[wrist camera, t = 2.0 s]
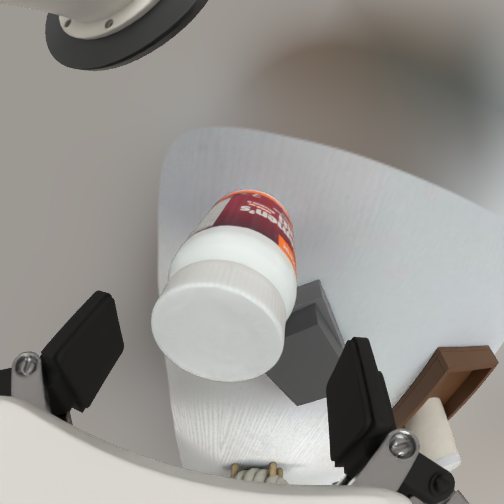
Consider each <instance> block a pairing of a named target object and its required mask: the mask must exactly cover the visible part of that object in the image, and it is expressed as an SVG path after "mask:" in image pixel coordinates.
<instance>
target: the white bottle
mask: <svg viewBox="0 0 504 504" xmlns="http://www.w3.org/2000/svg"><path fill="white" fill-rule="evenodd" d="M404 426H405V429H407V430H409V431H411V432H412V433H414V434H415V435H416V437H417V438H418V440H419V443H420V450H419V452H420V453H421V454H423V455H424V456H426V457H427V458H429V459H430V460H432V461H434V462H435V463H437V464H438V465H440V466H441V467H443V468H444V469H446V470H448V471H449V472H450V471H451V470H453V469H454V468H456V467H457V466H459V465H460V464H461V460H460V456H459V453H458V452H457V448H456V445H455V442H454V439H453V435H452V432H451V429H450V426H449V423H448V420H447V417H446V414H445V411H444V408H443V405H442V403H441V400H440V399H439V398H437V397H433V398H429V399H428V400H427V401H426V402H425V403H424V405H423V406H422V407H421V408H420V409H419V410H418V411H417V412H416V413H415V414H414V415H413V416H412V418H411V419H410V420H409V421H408V422H407V423H406V424H405V425H404Z"/></svg>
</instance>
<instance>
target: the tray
mask: <svg viewBox="0 0 504 504" xmlns="http://www.w3.org/2000/svg"><path fill="white" fill-rule="evenodd" d="M497 364H498V361H497V359H496V357H495V355H494V354H493V352H492V350H491V349H490V347H489V346H472V347H438V349H437V350H436V352H435V353H434V355H433V356H432V358H431V359H430V361H429V362H428V364H427V365H426V366H425V368H424V369H423V371H422V372H421V373H420V375H419V376H418V378H417V379H416V380H415V382H414V383H413V384H412V386H411V387H410V388H409V389H408V391H407V392H406V393H405V394H404V396H403V397H402V398H401V399H400V401H399V402H398V403H397V404H396V405H395V407H394V408H393V409H392V411H393V415H394V420H395V424H396V428H397V429H401V428H402V427H403V426H404V425H405V424H406V423H407V422H408V421H409V420H410V419H411V418H412V416H413V415H414V414H415V413H416V412H417V411H418V410H419V409H420V408H421V407H422V406H423V405H424V403H425V402H426V401H427V400H428V399H429V398H433V397H437V398H439V399H440V400H441V403H442V405H443V408H444V411H445V414H446V417H447V420H449V419H450V418H451V417H452V416H453V415H454V414H455V413H456V412H457V411H458V410H459V409H460V408H461V407H462V406H463V405H464V404H465V403H466V402H467V400H468V399H469V398H470V397H471V396H472V395H473V394H474V393H475V391H476V390H477V389H478V388H479V387H480V386H481V385H482V383H483V382H484V381H485V380H486V378H487V377H488V376H489V375H490V373H491V372H492V371H493V369H494V368H495V367H496V365H497Z"/></svg>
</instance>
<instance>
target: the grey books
mask: <svg viewBox="0 0 504 504" xmlns="http://www.w3.org/2000/svg"><path fill="white" fill-rule="evenodd" d="M344 347H345V344H344V341H343V338H342V336H341V333H340V330H339V328H338V325H337V323H336V320H335V318H334V315H333V312H332V310H331V307H330V305H329V302H328V300H327V297H326V295H325V292H324V290H323V288H322V285H321V283H320V280H317V281H314V282H311V283H309V284H306V285H303V286H300V287H298V288H297V295H296V301H295V305H294V308H293V310H292V312H291V314H290V316H289V318H288V319H287V321H286V324H285V338H284V347H283V351H282V354H281V356H280V358H279V360H278V361H277V363H276V364H275V365H274V366H273V367H272V368H271V369H270V370H268V371H267V372H266V374H267V376H268V377H269V378H270V379H271V380H272V381H273V382H274V383H275V384H276V385H277V386H278V387H279V388H280V389H281V390H282V391H283V392H284V393H285V394H286V395H287V396H288V397H289V398H290V399H291V400H292V401H293V402H294V403H295V404H296V405H297V406H299V405H303V404H306V403H310V402H313V401H316V400H319V399H322V398H326V397H327V396H326V386H327V382H328V380H329V378H330V376H331V374H332V372H333V370H334V368H335V366H336V364H337V362H338V360H339V358H340V356H341V354H342V351H343V349H344Z"/></svg>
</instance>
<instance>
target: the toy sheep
mask: <svg viewBox="0 0 504 504" xmlns="http://www.w3.org/2000/svg"><path fill="white" fill-rule="evenodd" d="M276 466H277V464H276V463H271V464H270V468H269V470H268V469H261V470H260V469H258V468H251V469H250V470H242V471H240V472H239V473H238V465H237V464H233V465H232V470H231V477H230V478H232V479H238V480H246V481H253V482H263V483H274V484H288V483H287V481H286V480H284V479H283V478H282V477H283V469H281V468H279V469H277V473H276Z"/></svg>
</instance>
